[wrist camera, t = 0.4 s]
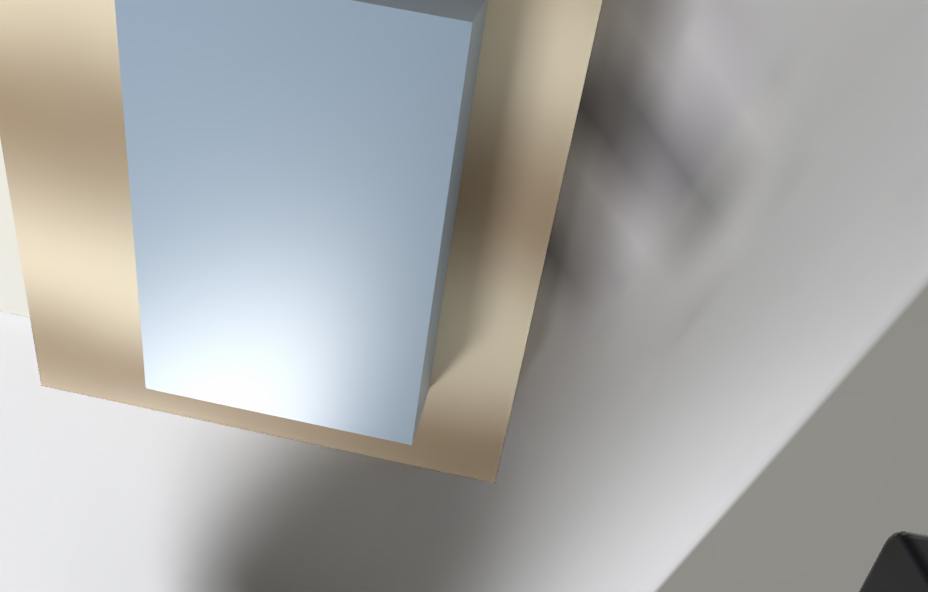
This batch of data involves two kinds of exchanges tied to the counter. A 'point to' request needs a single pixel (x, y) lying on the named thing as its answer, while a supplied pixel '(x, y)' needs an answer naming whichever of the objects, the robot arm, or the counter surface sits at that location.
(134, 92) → the blue-grey block
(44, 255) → the panel
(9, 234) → the mat
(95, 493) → the counter surface
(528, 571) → the counter surface
